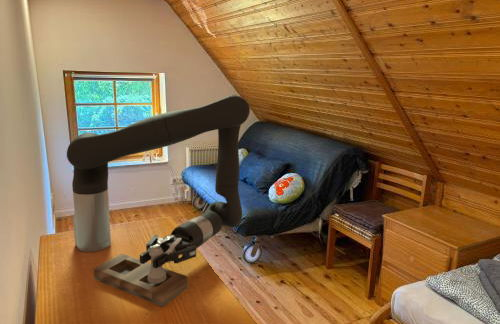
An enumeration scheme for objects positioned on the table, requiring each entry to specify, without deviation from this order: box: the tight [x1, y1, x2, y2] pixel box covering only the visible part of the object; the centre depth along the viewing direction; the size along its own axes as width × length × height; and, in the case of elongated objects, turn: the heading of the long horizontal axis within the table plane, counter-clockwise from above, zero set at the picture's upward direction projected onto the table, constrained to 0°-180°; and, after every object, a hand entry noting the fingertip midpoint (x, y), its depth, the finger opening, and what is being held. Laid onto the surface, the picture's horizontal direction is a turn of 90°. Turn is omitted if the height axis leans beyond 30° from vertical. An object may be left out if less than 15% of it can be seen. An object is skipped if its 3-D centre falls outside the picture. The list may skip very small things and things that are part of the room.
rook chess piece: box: [147, 247, 167, 284], centre depth 86 cm, size 4×4×8 cm
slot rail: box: [93, 253, 189, 308], centre depth 89 cm, size 22×9×3 cm, turn 62°
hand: (147, 262), depth 83 cm, fingers closed on rook chess piece, 3 cm apart
